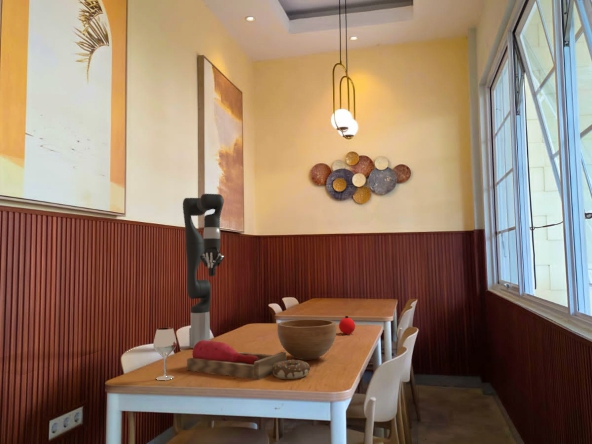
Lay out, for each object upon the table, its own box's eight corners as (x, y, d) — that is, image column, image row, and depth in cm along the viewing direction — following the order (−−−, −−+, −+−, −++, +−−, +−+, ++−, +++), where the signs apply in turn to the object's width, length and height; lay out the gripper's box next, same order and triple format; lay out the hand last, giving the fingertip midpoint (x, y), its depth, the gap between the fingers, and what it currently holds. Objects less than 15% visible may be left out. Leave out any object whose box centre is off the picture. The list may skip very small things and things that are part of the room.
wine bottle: (198, 369, 187) (255, 380, 170) (186, 352, 183) (243, 362, 166) (212, 350, 194) (268, 359, 177) (201, 334, 190) (257, 341, 172)
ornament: (356, 335, 252) (355, 316, 253) (339, 335, 253) (339, 317, 253) (354, 332, 261) (353, 314, 262) (338, 333, 261) (338, 315, 262)
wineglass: (156, 376, 173) (156, 327, 175) (178, 375, 174) (178, 326, 175) (151, 381, 165) (151, 330, 167) (174, 380, 166) (174, 329, 167)
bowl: (343, 354, 203) (342, 319, 205) (328, 367, 180) (327, 328, 181) (289, 352, 212) (289, 318, 213) (269, 364, 188) (268, 326, 189)
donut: (297, 382, 160) (297, 367, 160) (264, 378, 167) (264, 364, 167) (317, 373, 172) (316, 359, 172) (286, 369, 179) (285, 356, 179)
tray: (187, 370, 181) (186, 354, 181) (218, 360, 197) (218, 346, 198) (258, 379, 164) (258, 362, 165) (286, 368, 181) (286, 352, 181)
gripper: (195, 238, 209) (195, 276, 208) (217, 237, 202) (217, 277, 201) (206, 238, 215) (206, 275, 214) (228, 237, 209) (228, 276, 207)
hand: (212, 276), depth 208 cm, fingers closed
